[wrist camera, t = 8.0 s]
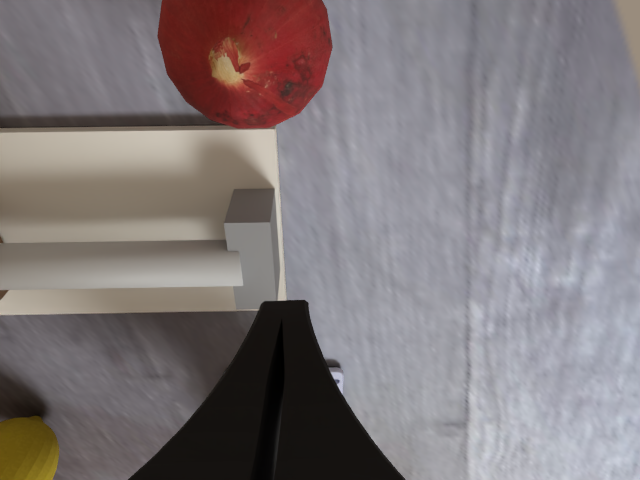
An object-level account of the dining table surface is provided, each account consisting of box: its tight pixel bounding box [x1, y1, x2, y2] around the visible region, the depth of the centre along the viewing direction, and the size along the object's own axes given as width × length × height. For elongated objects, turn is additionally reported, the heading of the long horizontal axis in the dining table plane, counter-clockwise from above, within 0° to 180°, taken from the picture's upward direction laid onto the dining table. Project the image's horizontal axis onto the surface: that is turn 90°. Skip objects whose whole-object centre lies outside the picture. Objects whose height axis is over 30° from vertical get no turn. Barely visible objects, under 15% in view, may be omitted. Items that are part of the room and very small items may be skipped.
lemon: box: [0, 416, 59, 480], centre depth 29 cm, size 6×6×8 cm
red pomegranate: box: [158, 0, 332, 129], centre depth 15 cm, size 6×6×8 cm
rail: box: [0, 125, 287, 315], centre depth 22 cm, size 24×11×5 cm, turn 90°
